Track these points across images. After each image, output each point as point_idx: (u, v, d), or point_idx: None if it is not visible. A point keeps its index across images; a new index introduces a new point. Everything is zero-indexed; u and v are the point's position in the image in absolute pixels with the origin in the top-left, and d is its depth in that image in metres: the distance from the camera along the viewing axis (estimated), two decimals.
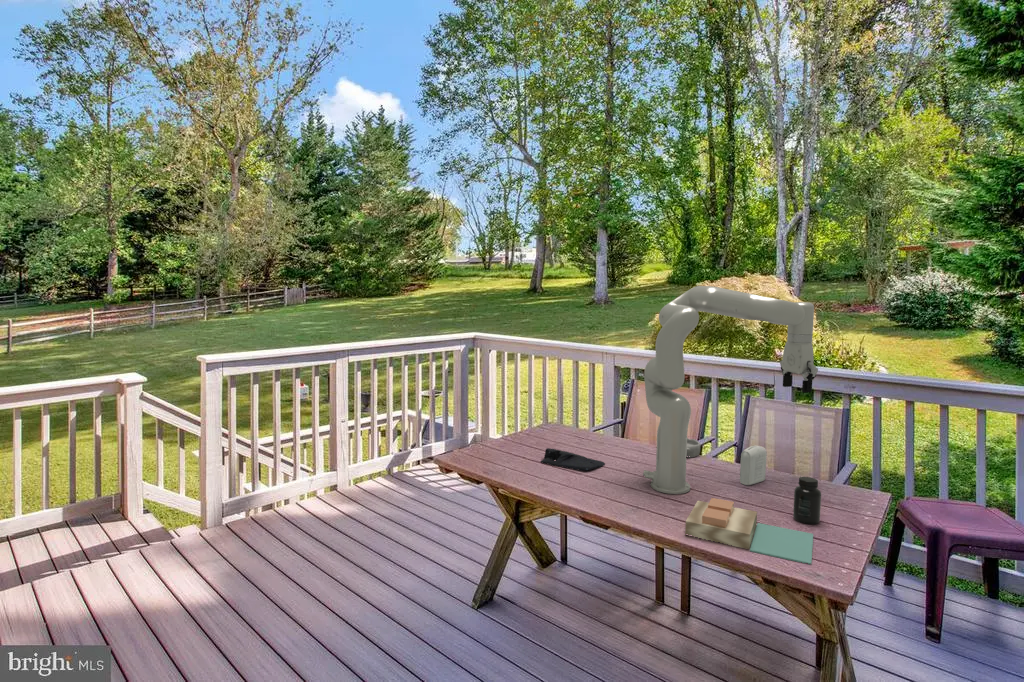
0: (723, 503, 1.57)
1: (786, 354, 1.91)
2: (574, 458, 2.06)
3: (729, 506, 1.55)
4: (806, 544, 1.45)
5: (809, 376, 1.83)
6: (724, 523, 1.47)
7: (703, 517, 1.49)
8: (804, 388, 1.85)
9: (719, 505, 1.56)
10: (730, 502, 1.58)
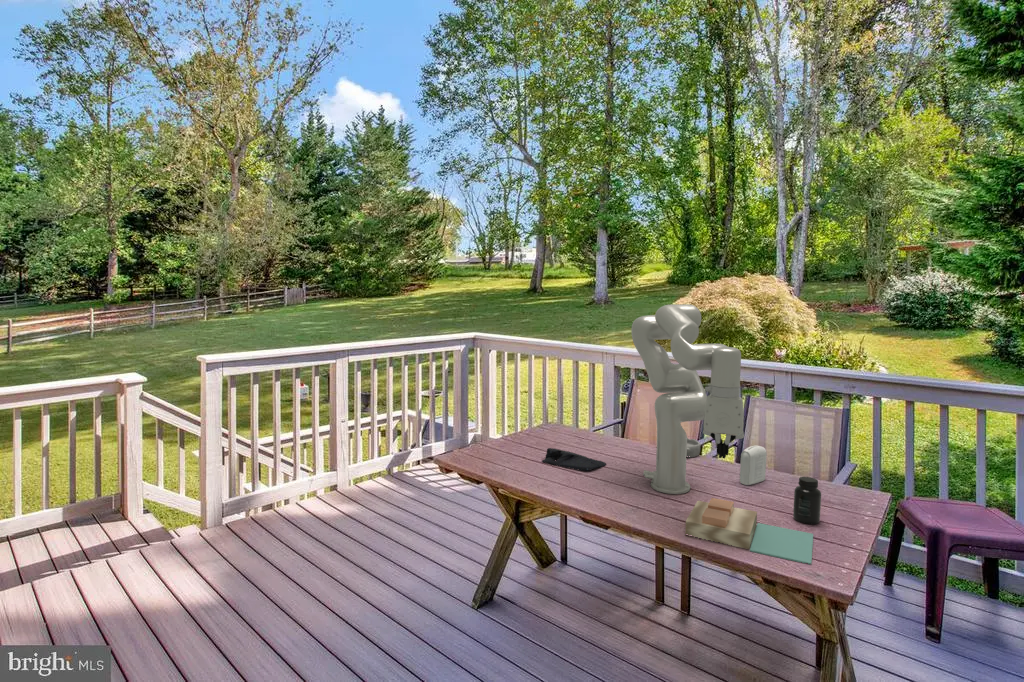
0: (723, 503, 1.57)
1: (714, 412, 1.54)
2: (575, 458, 2.06)
3: (729, 506, 1.55)
4: (806, 544, 1.45)
5: (731, 439, 1.54)
6: (724, 523, 1.47)
7: (703, 517, 1.49)
8: (725, 453, 1.55)
9: (719, 505, 1.56)
10: (730, 502, 1.58)
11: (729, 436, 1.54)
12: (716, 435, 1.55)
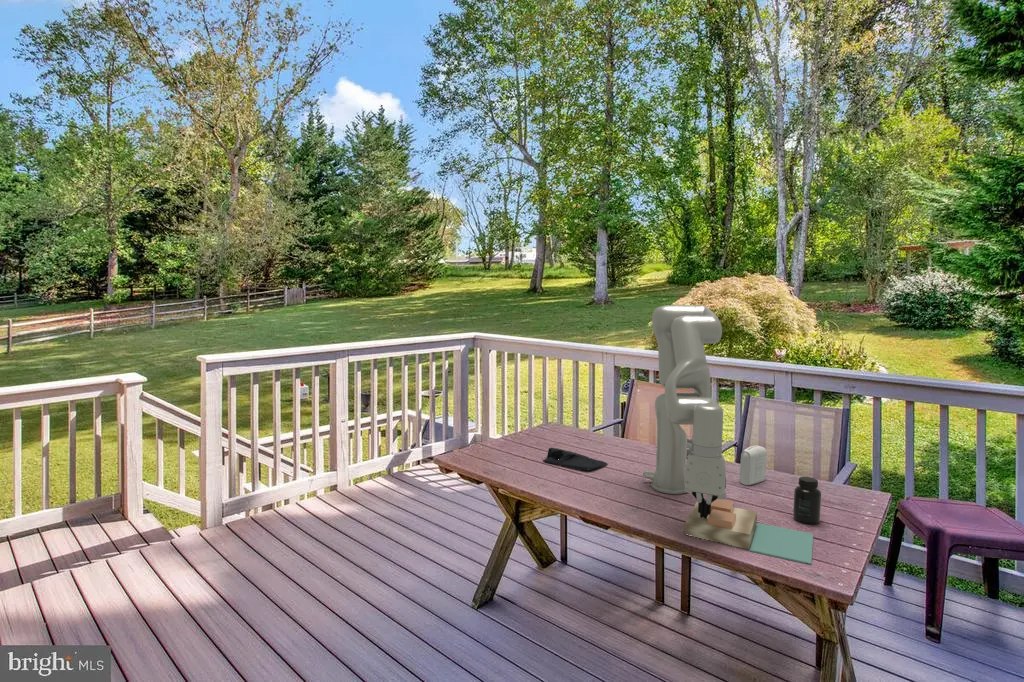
0: (723, 503, 1.57)
1: (695, 471, 1.49)
2: (576, 458, 2.07)
3: (729, 506, 1.55)
4: (806, 544, 1.45)
5: (713, 498, 1.49)
6: (730, 525, 1.46)
7: (709, 518, 1.48)
8: (706, 513, 1.50)
9: (719, 505, 1.56)
10: (730, 502, 1.58)
11: (710, 496, 1.49)
12: (697, 494, 1.51)
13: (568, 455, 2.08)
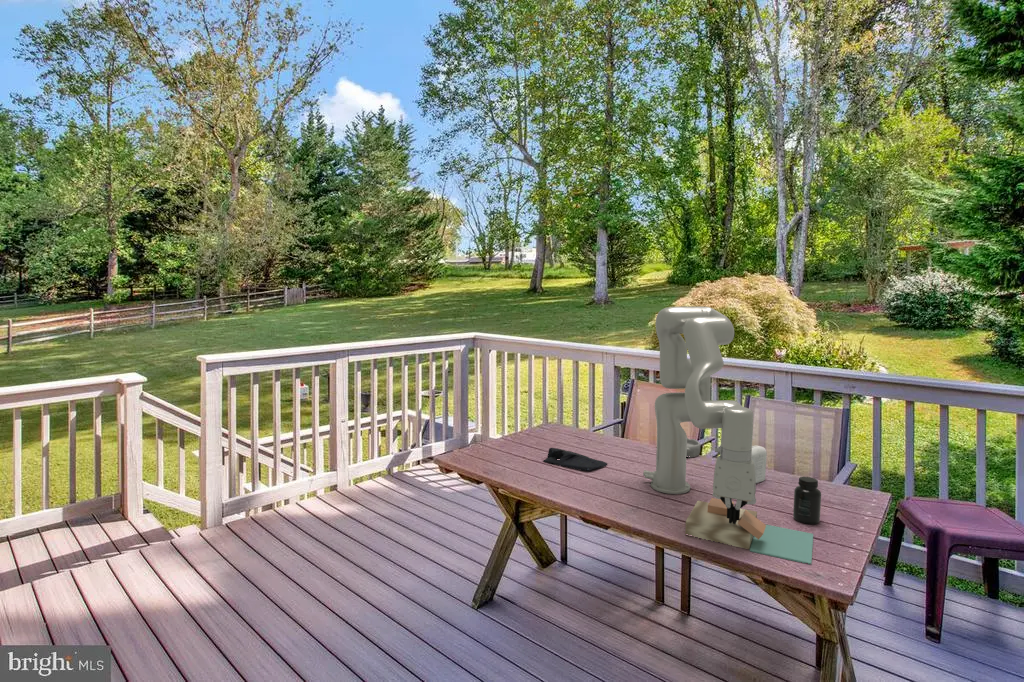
0: (723, 503, 1.57)
1: (724, 475, 1.46)
2: (576, 458, 2.07)
3: None
4: (806, 544, 1.45)
5: (742, 504, 1.46)
6: (759, 535, 1.42)
7: (742, 519, 1.44)
8: (735, 518, 1.47)
9: (719, 505, 1.56)
10: None
11: (740, 501, 1.46)
12: (726, 499, 1.47)
13: (568, 455, 2.08)
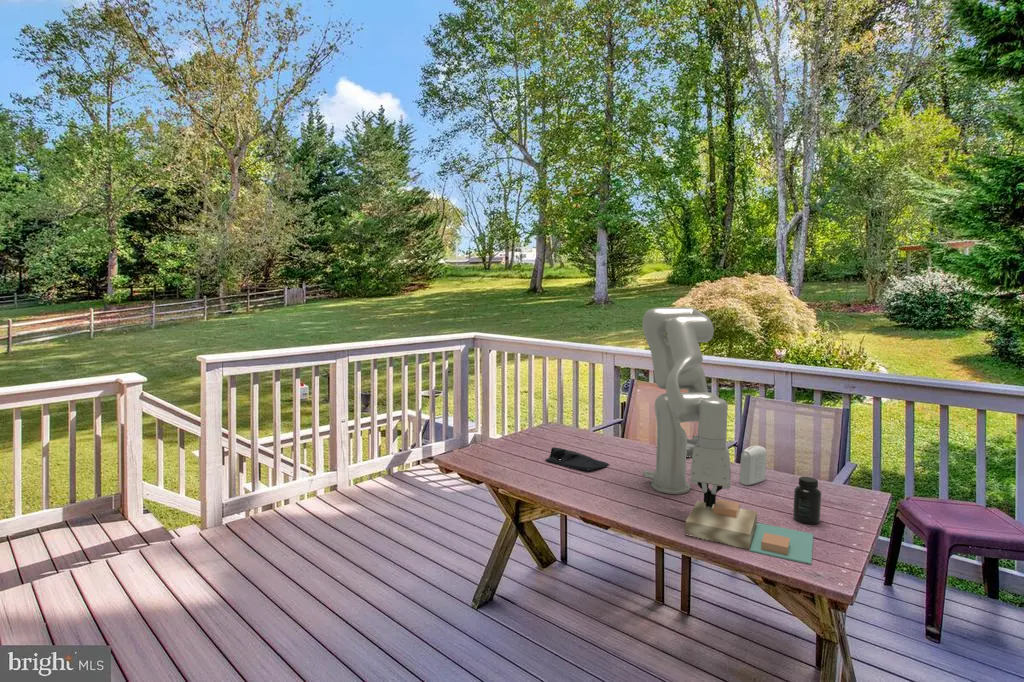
0: (729, 504, 1.56)
1: (700, 462, 1.56)
2: (578, 458, 2.06)
3: (735, 507, 1.54)
4: (806, 544, 1.45)
5: (718, 488, 1.56)
6: (762, 546, 1.42)
7: (785, 553, 1.39)
8: (711, 502, 1.57)
9: (725, 507, 1.55)
10: (736, 503, 1.57)
11: (715, 486, 1.56)
12: (703, 484, 1.58)
13: (570, 455, 2.08)
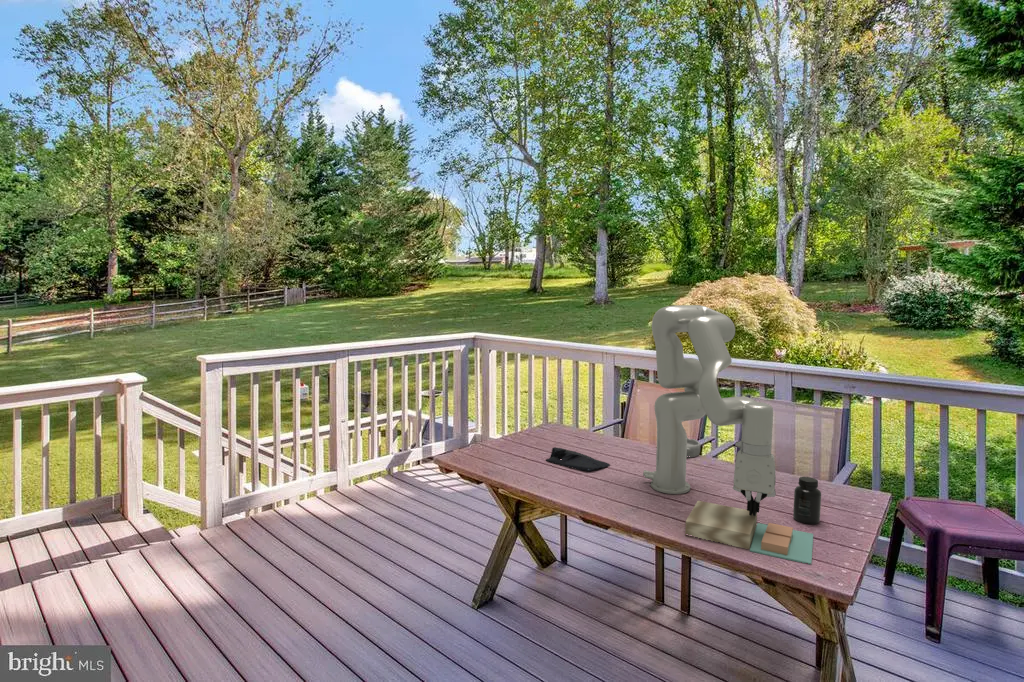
0: None
1: (744, 469, 1.51)
2: (578, 458, 2.06)
3: None
4: (806, 544, 1.45)
5: (763, 496, 1.51)
6: (762, 546, 1.42)
7: (785, 553, 1.39)
8: (755, 510, 1.52)
9: None
10: None
11: (760, 494, 1.51)
12: (746, 492, 1.52)
13: (570, 455, 2.08)
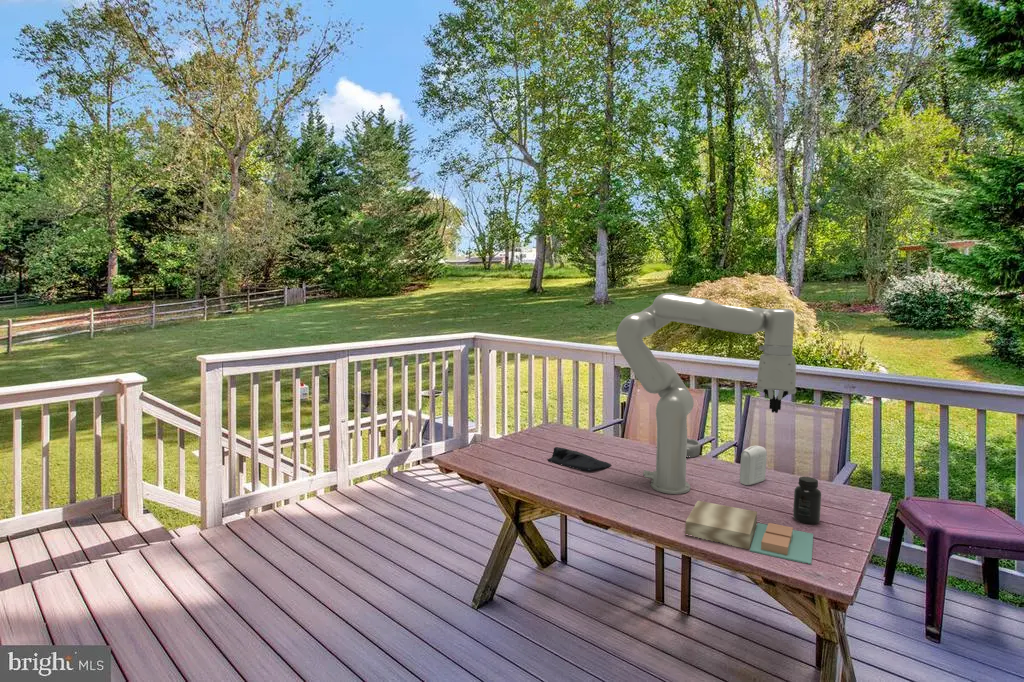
0: None
1: (767, 369, 1.65)
2: (579, 458, 2.06)
3: None
4: (806, 544, 1.45)
5: (784, 394, 1.65)
6: (762, 546, 1.42)
7: (785, 553, 1.39)
8: (777, 408, 1.66)
9: None
10: None
11: (782, 392, 1.65)
12: (769, 391, 1.66)
13: (571, 455, 2.08)
